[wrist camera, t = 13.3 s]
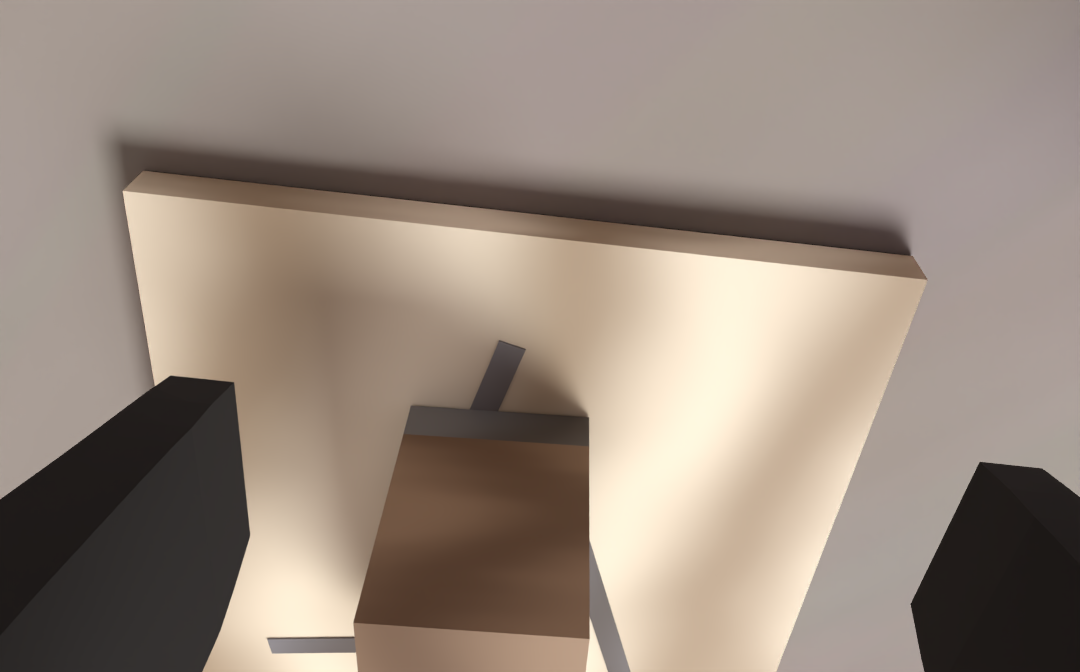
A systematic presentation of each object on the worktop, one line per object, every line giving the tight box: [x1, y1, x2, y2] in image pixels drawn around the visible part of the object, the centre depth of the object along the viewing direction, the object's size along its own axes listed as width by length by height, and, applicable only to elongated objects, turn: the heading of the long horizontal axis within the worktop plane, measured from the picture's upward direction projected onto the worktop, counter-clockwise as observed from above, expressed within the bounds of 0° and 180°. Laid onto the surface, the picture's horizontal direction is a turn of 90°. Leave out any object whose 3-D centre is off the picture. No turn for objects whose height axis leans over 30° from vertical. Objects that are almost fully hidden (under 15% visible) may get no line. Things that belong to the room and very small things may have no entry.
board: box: [123, 171, 927, 672], centre depth 23 cm, size 16×18×1 cm
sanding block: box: [353, 406, 590, 672], centre depth 20 cm, size 4×8×6 cm, turn 177°
